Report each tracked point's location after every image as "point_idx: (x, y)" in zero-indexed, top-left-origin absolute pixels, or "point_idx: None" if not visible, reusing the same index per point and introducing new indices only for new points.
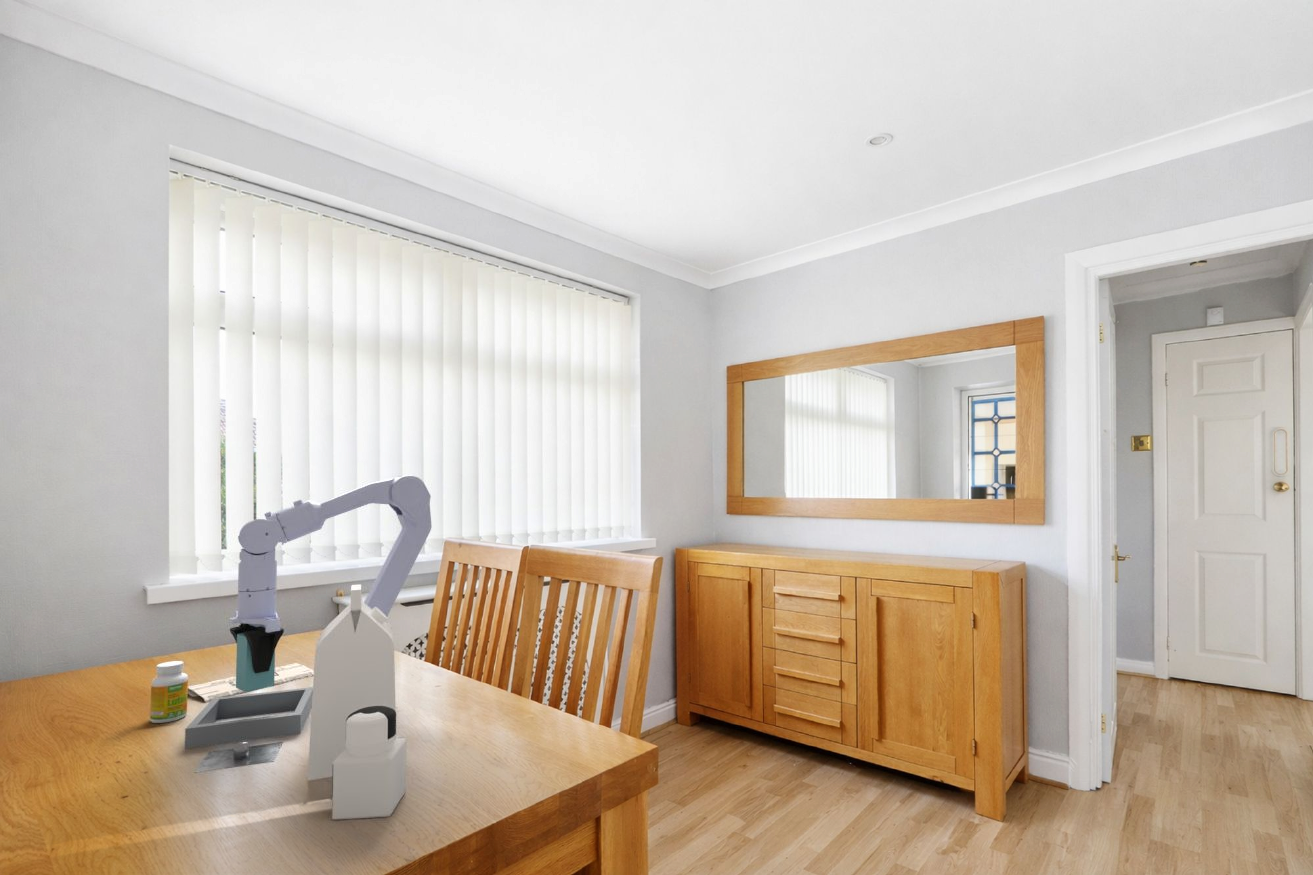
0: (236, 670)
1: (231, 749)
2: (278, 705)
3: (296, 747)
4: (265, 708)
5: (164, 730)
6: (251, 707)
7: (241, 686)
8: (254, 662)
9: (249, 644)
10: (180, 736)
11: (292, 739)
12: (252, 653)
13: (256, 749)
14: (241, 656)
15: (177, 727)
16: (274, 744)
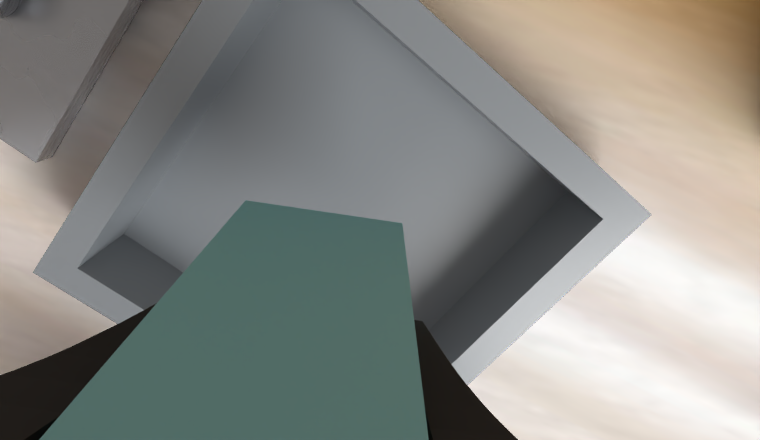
0: (402, 267)
1: (109, 9)
2: None
3: (24, 184)
4: (455, 315)
5: (700, 25)
6: (493, 287)
7: (309, 217)
8: (129, 319)
9: (34, 410)
10: (554, 23)
11: None
12: (83, 356)
13: (29, 64)
14: (291, 321)
15: (679, 73)
16: (29, 128)
